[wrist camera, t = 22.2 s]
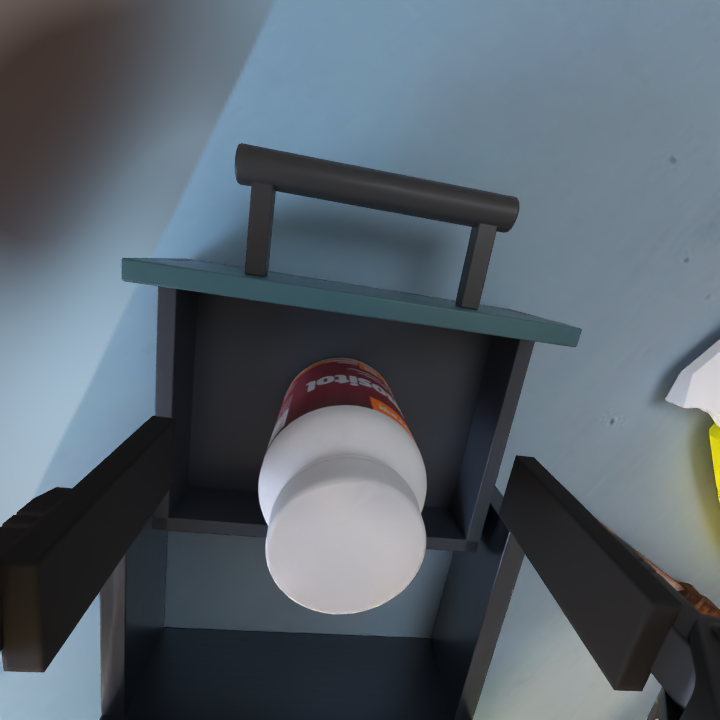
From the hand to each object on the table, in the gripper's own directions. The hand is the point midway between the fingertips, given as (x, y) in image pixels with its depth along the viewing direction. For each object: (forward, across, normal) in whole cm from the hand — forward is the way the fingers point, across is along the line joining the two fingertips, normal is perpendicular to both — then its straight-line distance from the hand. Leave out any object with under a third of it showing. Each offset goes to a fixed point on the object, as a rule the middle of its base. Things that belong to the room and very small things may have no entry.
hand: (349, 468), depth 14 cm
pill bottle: (+7, 0, 0) cm, 7 cm away
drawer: (+8, 0, +2) cm, 8 cm away
